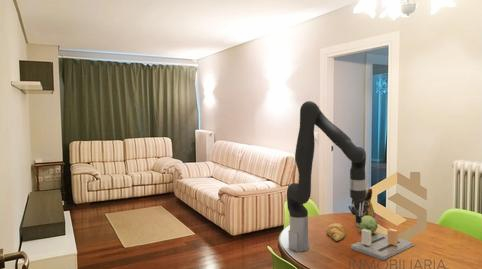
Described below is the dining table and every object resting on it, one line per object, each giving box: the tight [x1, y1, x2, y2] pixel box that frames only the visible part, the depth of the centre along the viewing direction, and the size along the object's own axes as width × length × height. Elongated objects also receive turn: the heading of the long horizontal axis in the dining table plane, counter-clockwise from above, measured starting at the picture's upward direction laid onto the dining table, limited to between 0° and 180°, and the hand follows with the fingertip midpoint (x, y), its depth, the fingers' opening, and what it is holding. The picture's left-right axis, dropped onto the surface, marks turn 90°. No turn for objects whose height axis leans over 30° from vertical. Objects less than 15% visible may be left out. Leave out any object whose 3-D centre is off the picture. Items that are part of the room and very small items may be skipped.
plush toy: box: [354, 186, 376, 228], centre depth 202 cm, size 14×14×25 cm
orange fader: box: [386, 228, 399, 245], centre depth 169 cm, size 2×4×7 cm, turn 36°
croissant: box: [325, 222, 346, 242], centre depth 189 cm, size 21×10×8 cm, turn 168°
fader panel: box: [350, 232, 414, 261], centre depth 171 cm, size 26×18×2 cm
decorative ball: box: [358, 216, 378, 235], centre depth 190 cm, size 10×10×10 cm
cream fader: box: [360, 229, 372, 246], centre depth 170 cm, size 2×4×7 cm, turn 35°
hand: (358, 222), depth 166 cm, fingers closed
